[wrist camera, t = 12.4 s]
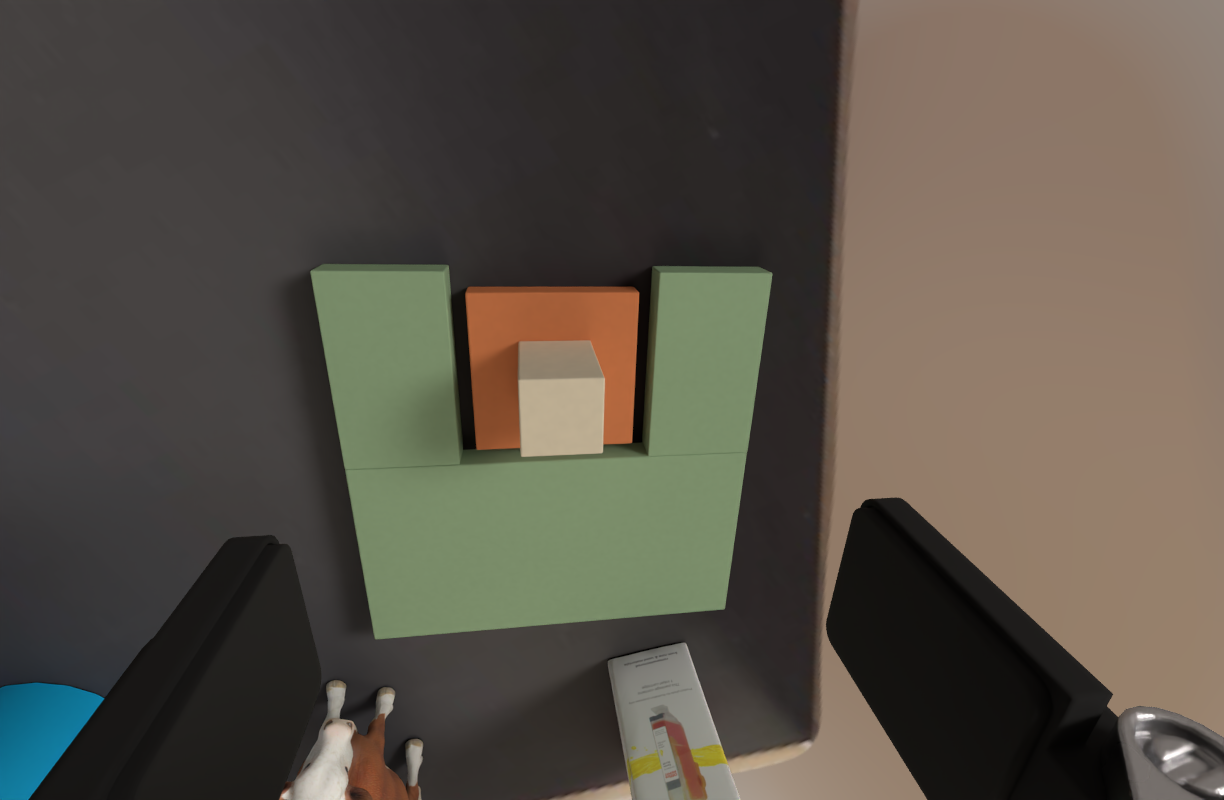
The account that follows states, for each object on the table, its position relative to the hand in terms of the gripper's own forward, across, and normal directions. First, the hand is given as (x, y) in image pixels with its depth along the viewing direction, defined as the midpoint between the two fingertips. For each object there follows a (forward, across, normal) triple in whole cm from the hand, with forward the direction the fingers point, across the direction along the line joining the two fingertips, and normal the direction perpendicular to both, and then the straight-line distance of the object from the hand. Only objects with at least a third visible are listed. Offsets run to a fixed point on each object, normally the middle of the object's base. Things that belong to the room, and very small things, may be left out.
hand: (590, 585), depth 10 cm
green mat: (+16, 0, +7) cm, 18 cm away
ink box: (+16, -6, +24) cm, 29 cm away
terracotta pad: (+16, 0, +2) cm, 16 cm away
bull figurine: (+16, +10, +23) cm, 30 cm away
